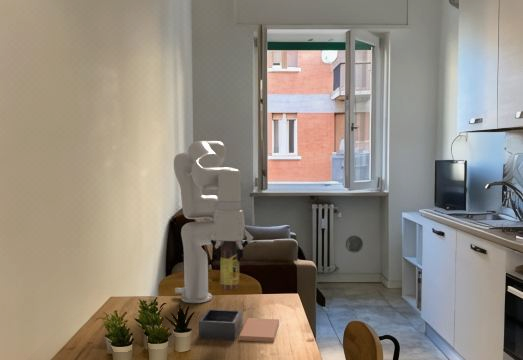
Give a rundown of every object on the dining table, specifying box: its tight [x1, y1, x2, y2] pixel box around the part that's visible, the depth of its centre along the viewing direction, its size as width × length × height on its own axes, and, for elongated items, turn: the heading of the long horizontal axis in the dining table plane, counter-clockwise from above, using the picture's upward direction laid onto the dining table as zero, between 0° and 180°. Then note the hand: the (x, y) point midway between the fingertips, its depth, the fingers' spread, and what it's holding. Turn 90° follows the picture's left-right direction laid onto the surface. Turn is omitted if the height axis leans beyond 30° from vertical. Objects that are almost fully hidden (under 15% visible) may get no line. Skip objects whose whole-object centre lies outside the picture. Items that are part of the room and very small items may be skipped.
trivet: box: [239, 317, 280, 343], centre depth 160 cm, size 11×16×2 cm
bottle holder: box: [198, 308, 243, 341], centre depth 160 cm, size 12×12×6 cm
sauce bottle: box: [219, 241, 240, 291], centre depth 159 cm, size 7×6×20 cm
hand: (229, 259), depth 159 cm, fingers closed on sauce bottle, 6 cm apart
